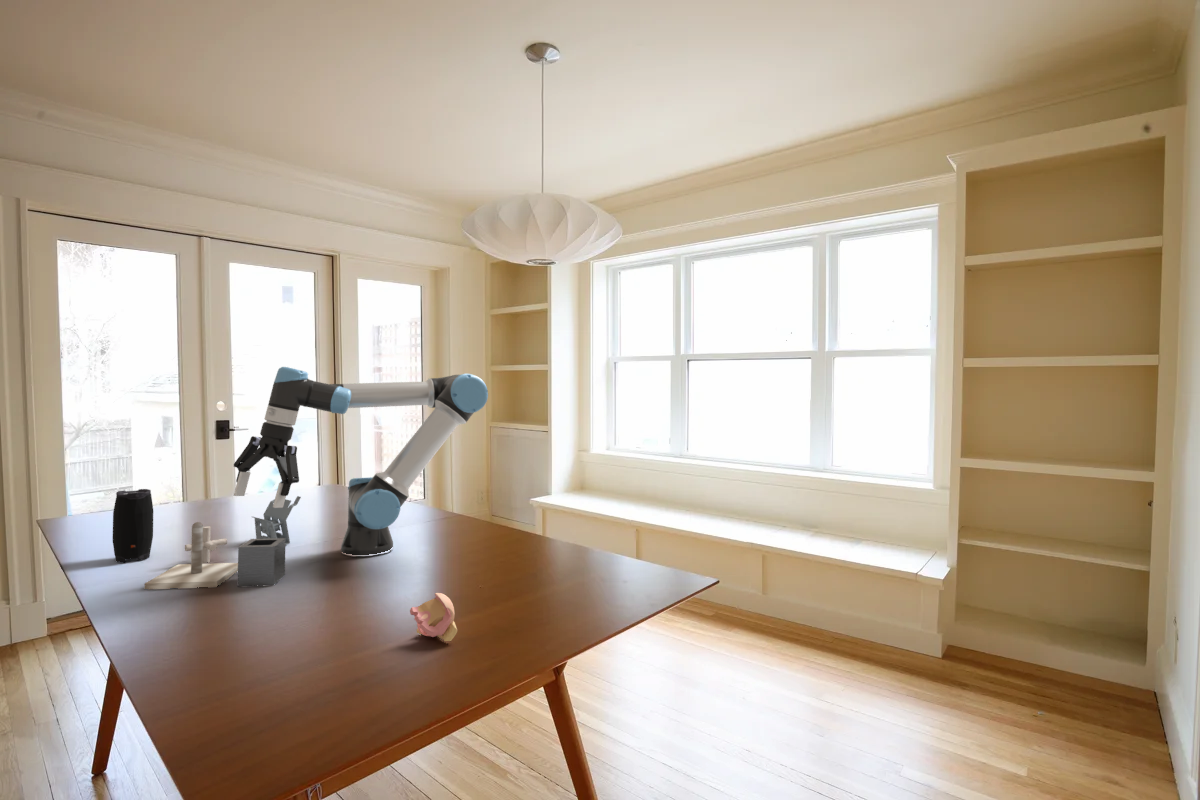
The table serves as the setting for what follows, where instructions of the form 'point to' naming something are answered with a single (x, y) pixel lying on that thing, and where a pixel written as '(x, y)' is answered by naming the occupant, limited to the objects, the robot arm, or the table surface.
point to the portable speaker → (132, 525)
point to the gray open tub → (261, 562)
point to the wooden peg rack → (207, 544)
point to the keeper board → (193, 579)
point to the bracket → (275, 521)
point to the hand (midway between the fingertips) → (258, 501)
